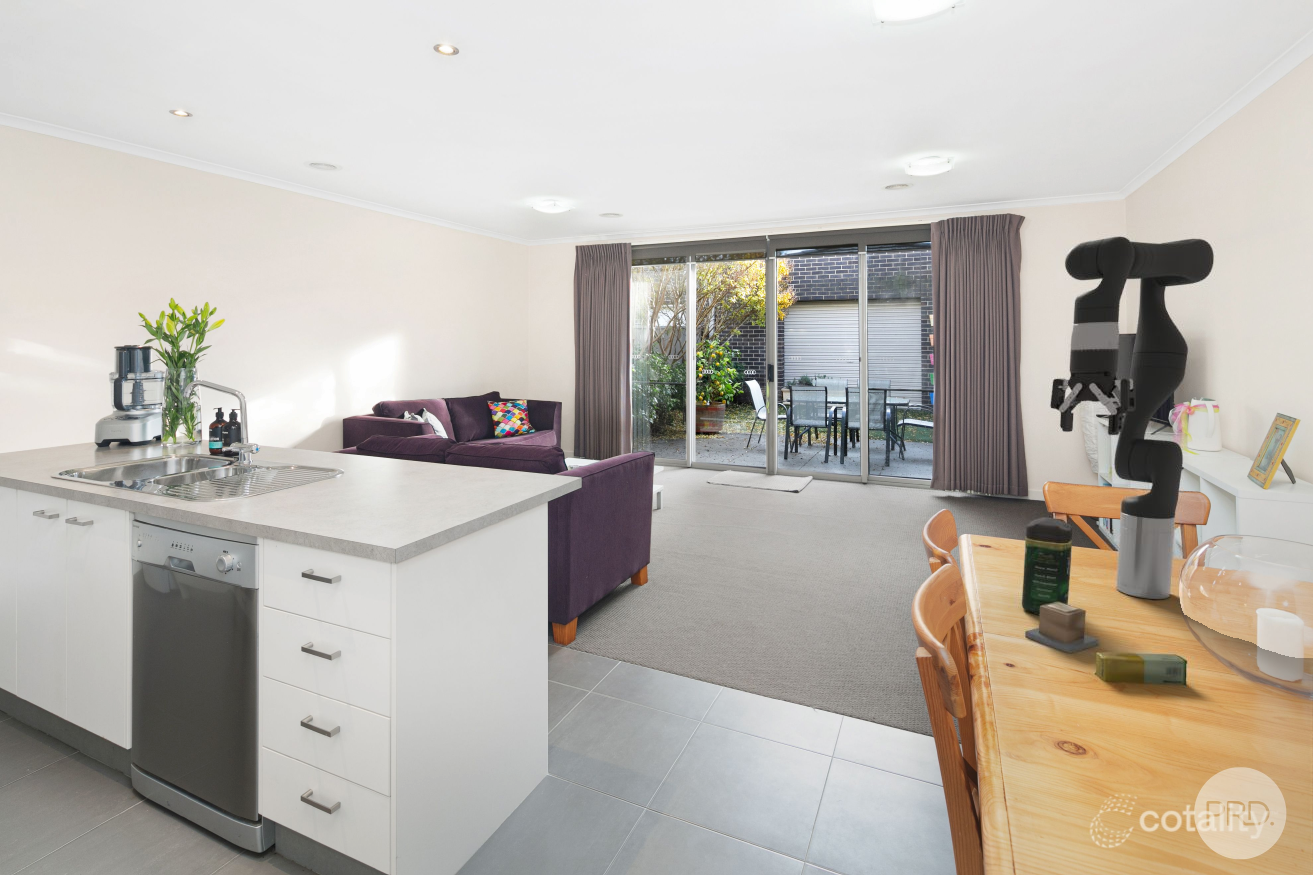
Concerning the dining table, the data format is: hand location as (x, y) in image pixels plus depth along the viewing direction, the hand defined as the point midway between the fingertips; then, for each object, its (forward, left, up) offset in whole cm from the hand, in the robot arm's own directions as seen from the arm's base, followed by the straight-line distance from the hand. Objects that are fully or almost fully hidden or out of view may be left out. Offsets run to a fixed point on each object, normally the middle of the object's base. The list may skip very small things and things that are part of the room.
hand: (1089, 433), depth 123 cm
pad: (+15, +6, -36) cm, 40 cm away
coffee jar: (+3, -5, -36) cm, 37 cm away
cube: (+15, +6, -35) cm, 39 cm away
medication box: (+18, +20, -37) cm, 46 cm away
